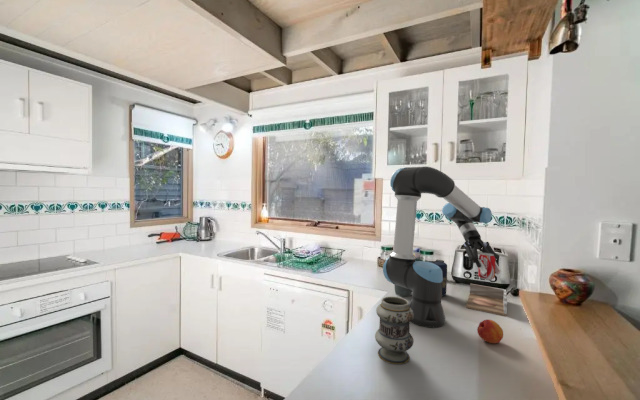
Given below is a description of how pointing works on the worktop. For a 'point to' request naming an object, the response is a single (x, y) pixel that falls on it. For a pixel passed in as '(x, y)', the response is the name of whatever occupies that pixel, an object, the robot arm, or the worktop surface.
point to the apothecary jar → (394, 330)
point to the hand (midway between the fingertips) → (491, 272)
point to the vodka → (402, 291)
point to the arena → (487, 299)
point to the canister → (444, 273)
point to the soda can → (487, 266)
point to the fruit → (490, 331)
